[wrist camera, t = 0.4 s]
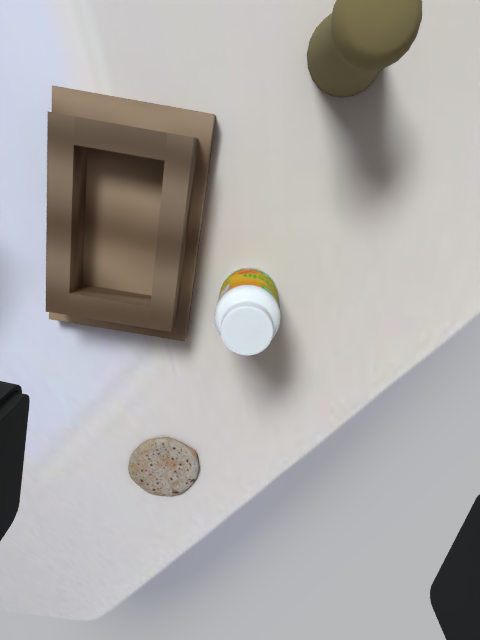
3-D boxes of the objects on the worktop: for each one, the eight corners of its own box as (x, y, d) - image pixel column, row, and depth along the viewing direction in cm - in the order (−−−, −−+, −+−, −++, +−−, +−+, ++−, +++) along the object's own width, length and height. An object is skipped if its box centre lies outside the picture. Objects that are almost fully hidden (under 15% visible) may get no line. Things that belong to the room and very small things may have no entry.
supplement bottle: (287, 282, 42) (296, 317, 32) (260, 329, 43) (261, 375, 34) (236, 256, 41) (231, 284, 32) (211, 305, 43) (199, 345, 33)
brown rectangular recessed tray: (60, 88, 36) (34, 79, 32) (215, 115, 37) (210, 110, 32) (55, 313, 43) (34, 330, 39) (186, 335, 44) (179, 354, 39)
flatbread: (163, 503, 51) (162, 509, 50) (116, 461, 50) (113, 467, 49) (215, 466, 49) (214, 471, 48) (167, 421, 48) (165, 426, 47)
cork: (363, 108, 36) (407, 89, 26) (295, 81, 36) (311, 50, 25) (397, 27, 34) (458, -29, 24) (325, -4, 34) (356, -75, 23)
